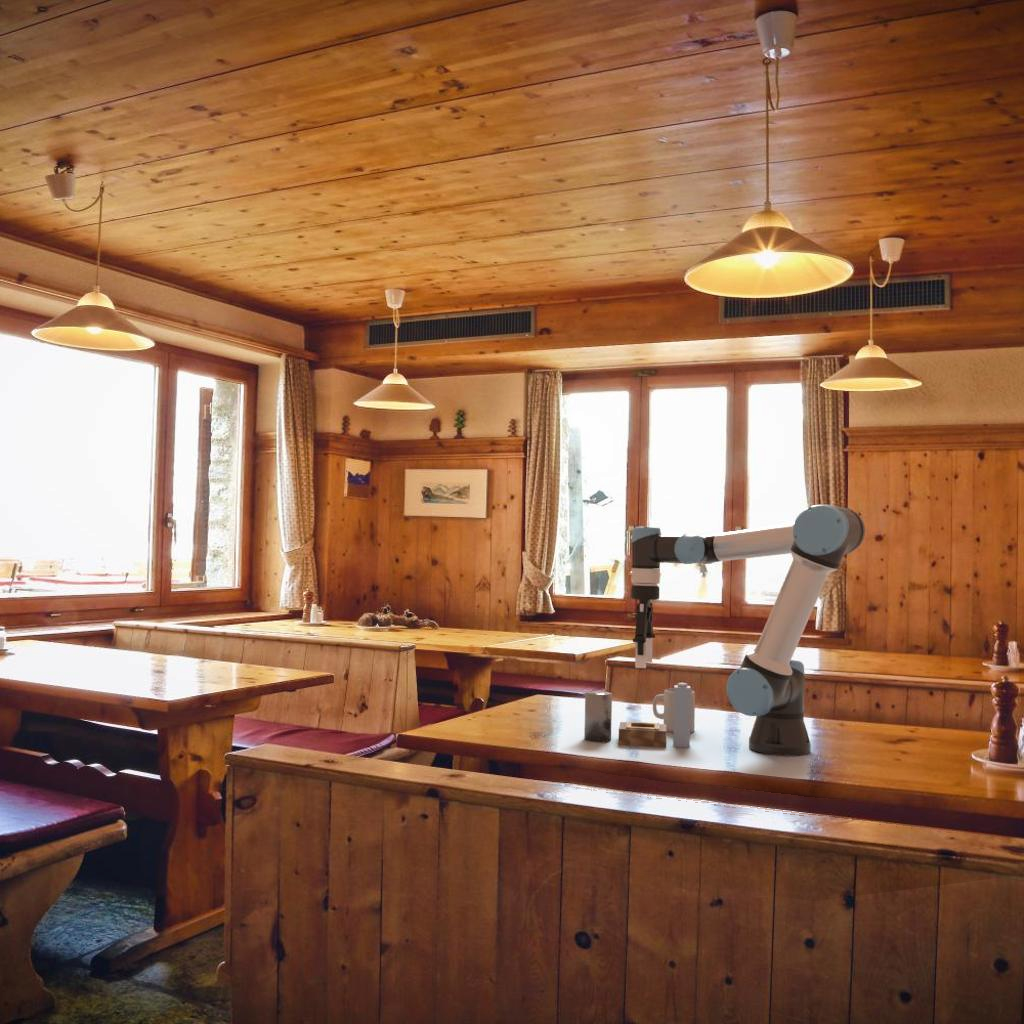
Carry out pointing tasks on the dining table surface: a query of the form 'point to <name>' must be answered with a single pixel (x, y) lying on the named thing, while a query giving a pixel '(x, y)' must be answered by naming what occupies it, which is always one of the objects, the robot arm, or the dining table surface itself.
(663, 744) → the socket block
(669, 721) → the mug
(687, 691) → the square bit
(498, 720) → the dining table surface
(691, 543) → the robot arm
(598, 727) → the grey storage canister
